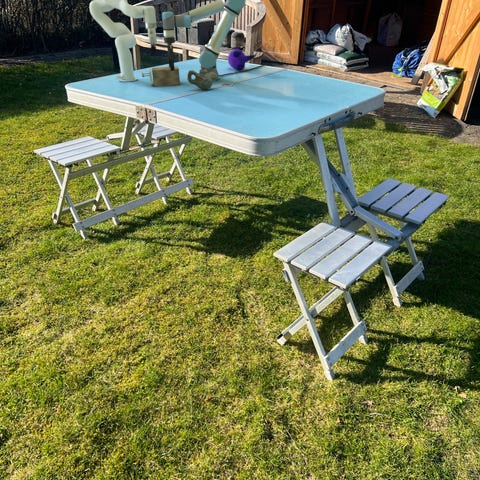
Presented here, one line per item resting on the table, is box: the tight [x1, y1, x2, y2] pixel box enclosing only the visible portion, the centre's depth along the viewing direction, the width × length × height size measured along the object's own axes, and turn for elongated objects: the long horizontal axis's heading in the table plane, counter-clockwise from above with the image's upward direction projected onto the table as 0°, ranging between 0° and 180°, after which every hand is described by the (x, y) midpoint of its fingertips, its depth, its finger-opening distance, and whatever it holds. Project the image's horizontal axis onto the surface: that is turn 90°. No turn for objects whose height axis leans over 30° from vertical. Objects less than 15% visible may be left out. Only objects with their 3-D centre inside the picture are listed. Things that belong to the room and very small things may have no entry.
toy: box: [227, 48, 258, 72], centre depth 368 cm, size 16×18×27 cm
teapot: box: [187, 66, 218, 91], centre depth 306 cm, size 21×12×15 cm, turn 109°
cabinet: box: [151, 66, 181, 88], centre depth 325 cm, size 19×11×11 cm, turn 103°
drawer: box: [141, 69, 154, 86], centre depth 324 cm, size 23×10×9 cm, turn 103°
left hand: (153, 52), depth 323 cm, fingers open, 9 cm apart
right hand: (171, 68), depth 323 cm, fingers open, 13 cm apart
